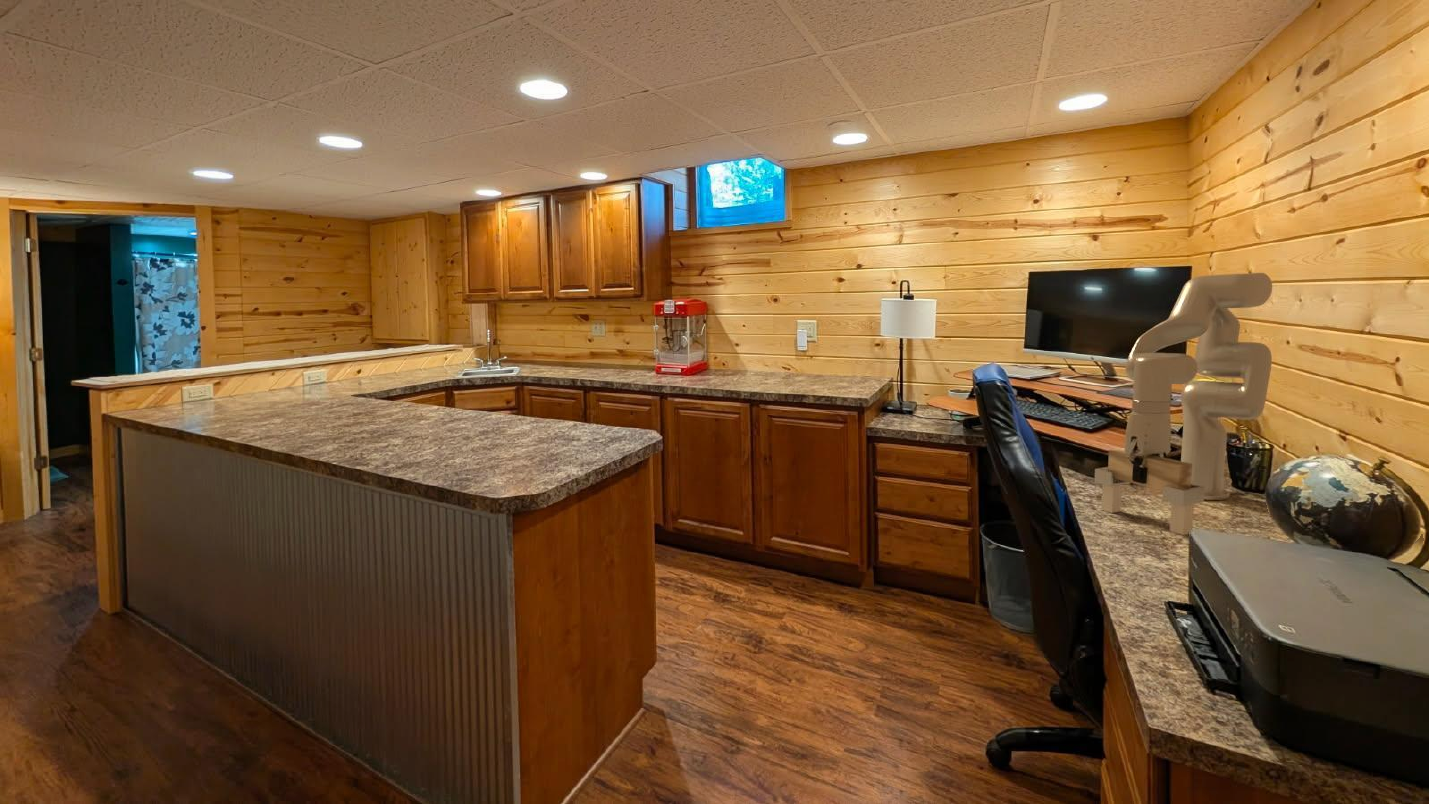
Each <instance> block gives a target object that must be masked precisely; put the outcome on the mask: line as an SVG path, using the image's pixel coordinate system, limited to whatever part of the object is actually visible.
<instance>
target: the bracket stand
mask: <svg viewBox="0 0 1429 804" xmlns="http://www.w3.org/2000/svg"><path fill="white" fill-rule="evenodd" d="M1094 483H1095V484H1098V485H1101V486H1102V489H1101V490H1102V491H1101V508H1100V509H1101V510H1102V511H1105V512H1107V513H1111V514H1113V513H1120V512H1121V509H1122V490H1123V485H1130V484H1131V483H1130V482H1126V481H1123V480H1119V479H1115V478H1113V473H1112V472H1108V466H1106V467H1099V468H1095V469H1094ZM1204 491H1205V487H1203V486H1198V485H1194V484H1191V488H1190V489H1185V490H1182V489H1178V488H1174V487H1170V486H1166V485H1165V486H1164V487H1163V491H1162V502H1167V503H1170V504H1171V509H1170V520H1169V522H1170V523H1169V531H1170V532H1172V533H1176V534H1179V535H1182V536H1183V535H1189V534H1188V533H1189V531H1190V530H1192V531H1193V525H1194V513H1195V512H1194V509H1195V505H1197V504H1201V503H1202V504H1203V503H1204V501H1205V499H1204Z"/></svg>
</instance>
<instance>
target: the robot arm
mask: <svg viewBox="0 0 1429 804" xmlns="http://www.w3.org/2000/svg"><path fill="white" fill-rule="evenodd" d="M1272 291H1273V283H1272V280H1271V278H1270V277H1269V275H1268V274H1266V273H1264V272H1250V273H1247V272H1246V273H1232V274H1231V273H1229V274H1214V275H1202V276H1195V277H1193V278H1191V279H1190V280H1188V281H1187V282H1186V283H1184V285H1183V287H1182V289H1181V291H1180V293H1179V296H1178V297H1177V300H1176V302H1175V303H1174V305H1173V307H1172V310H1171V312H1170V314H1169V316H1168V318H1167V319H1166V320H1164V321H1161V322H1160V323H1158V324H1157V325H1155V326H1153V327H1152V328H1150V329H1148V330H1147V331H1146V332H1145V333H1143V334H1141V336H1139V337H1138V339H1136V341H1135V343H1134V345H1133V346H1132V349H1131V351H1130V353H1129V355H1128V357H1127V360H1126V364H1125V374H1126V376H1127V377H1128V378H1129V379H1130V380H1131V381H1133V387H1132V400H1131V401H1132V403H1131V413H1129V417H1128V420H1127V423H1126V424H1127V425H1126V428H1125V436H1124V447H1123V449H1124V450H1125V451H1126V453H1125V456H1126V457H1127V458H1128V459H1129V460H1130V461H1131V465H1132V466H1133V475H1132V480H1133V481H1134V482H1138V483H1142V484H1145V483H1146V482H1147V468H1146V467H1145V466H1146V461H1147V456H1148V455H1154V456H1159V457H1163V458H1167V456H1168V454H1169V453H1170V452H1171V450H1172V448H1171V442H1172V421H1171V403H1172V402H1171V401H1172V386H1173V385H1184V387H1183V388H1182V389H1181V394H1180V400H1181V401H1180V402H1181V409H1182V417H1183V418H1182V419H1183V424H1182V426H1183V428H1182V440H1181V442H1182V443H1181V456H1180V461H1182V462H1186V463H1191V464H1192V476H1191V484H1194V485H1198V486H1203V487H1205V491H1204V501H1205V500H1206V501H1208V500H1209V501H1223V500H1227V499H1229V498H1230V497H1231V496H1230V494H1231V493H1230V492H1229V491H1228V490H1226V489H1224V488H1225V486H1228V485H1231V484H1232V483H1233V480H1232V478H1230V477H1225V465H1226V454H1227V453H1226V451H1227V439H1228V434H1227V430H1226V427H1225V426H1224V425H1223V423H1222V422H1221V421H1220V419H1218V418H1226V419H1233V420H1234V419H1235V420H1236V419H1237V420H1249V421H1250V420H1256V419H1258V418H1259V417H1260V416H1261V415H1262V414H1263V411H1264V410H1265V405H1266V399H1267V394H1268V388H1269V382H1270V376H1271V369H1272V362H1273V361H1272V360H1273V359H1272V352H1271V349H1270V348H1269V347H1268V346H1267V345H1266V344H1264V343H1260V342H1255V341H1254V342H1253V341H1252V342H1251V341H1250V342H1249V341H1248V342H1247V341H1246V342H1245V341H1242V342H1241V341H1239V336H1240V330H1241V324H1240V322H1239V320H1238V318H1237V317H1236V315H1234V313H1233V312H1232V311H1231V310H1230V309H1247V308H1255V307H1260V306H1263V305H1265V303H1266V302H1267V301H1268V300H1269V298H1270V297H1271V296H1272ZM1196 338H1198V339H1197V343H1196V349H1195V355H1194V357H1193V356H1192V355H1189V354H1186V353H1175V352H1172V353H1171V352H1168V353H1167V352H1157V351H1160V350H1161V349H1164V348H1166V347H1169V346H1173V345H1177V344H1179V343H1184V342H1188V341H1190V340H1193V339H1196ZM1197 374H1198V375H1201V376H1205V377H1213V378H1231V379H1233V378H1235V379H1241V380H1243V382H1232V381H1231V382H1230V381H1215V380H1195V381H1193V379H1195V377H1196V376H1197ZM1189 382H1190V383H1189ZM1185 384H1186V385H1185ZM1138 452H1139V453H1140V454H1139V453H1138ZM1138 456H1141V457H1142V458H1141V460H1140V459H1139V458H1138Z"/></svg>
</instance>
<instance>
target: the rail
mask: <svg viewBox="0 0 1429 804" xmlns="http://www.w3.org/2000/svg"><path fill="white" fill-rule="evenodd" d="M1139 452H1140V451H1139ZM1139 452H1138V453H1139ZM1125 453H1126V451H1125V450H1124V448H1114V449H1109V450H1108V466H1107V467H1108V472H1112V473H1113V478H1115V479H1119V480H1123V481H1126V482H1130V484H1135V485H1139V486H1141V487H1145V488H1149V489H1153V490H1155V491H1160V492H1163V487H1164V486H1165V485H1166V486H1170V487H1174V488H1178V489H1182V490H1185V489H1190V488H1191V476H1192V464H1191V463H1186V462H1182V461H1181V460H1176V459H1172V458H1168V457H1165V458H1163V457H1159V456H1154V455H1155V454H1154V455H1148V456H1147V461H1146V466H1145V467H1146V468H1147V482H1146V483H1145V484H1142V483H1138V482H1134V481H1133V480H1132V475H1133V466H1132V465H1131V461H1130V460H1129V459H1128V458H1127V457H1126V456H1125ZM1139 454H1140V453H1139ZM1138 458H1139V459H1140V460H1141V458H1142V457H1141V456H1138Z"/></svg>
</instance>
